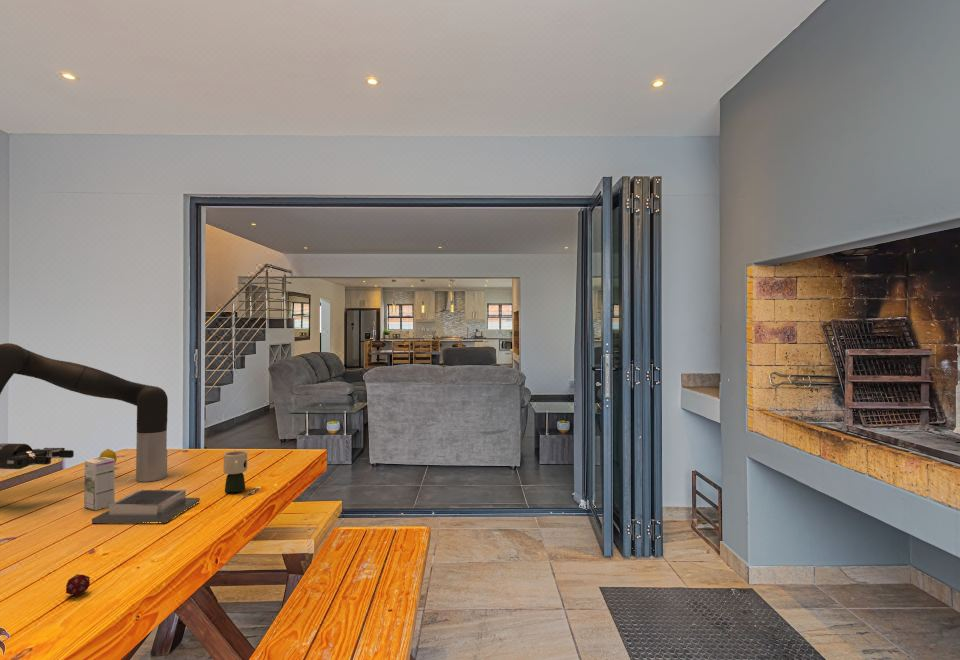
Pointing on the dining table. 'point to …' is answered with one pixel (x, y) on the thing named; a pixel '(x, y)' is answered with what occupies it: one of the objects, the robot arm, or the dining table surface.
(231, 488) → the beige trophy cup
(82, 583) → the dice
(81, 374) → the robot arm
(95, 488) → the syrup box
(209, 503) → the dining table surface
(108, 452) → the lemon
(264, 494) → the dining table surface
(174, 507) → the collar stand
